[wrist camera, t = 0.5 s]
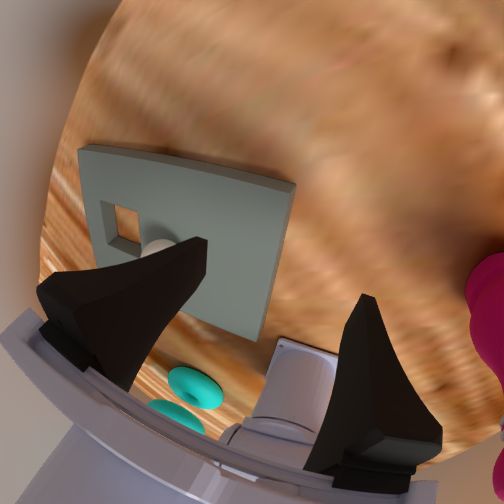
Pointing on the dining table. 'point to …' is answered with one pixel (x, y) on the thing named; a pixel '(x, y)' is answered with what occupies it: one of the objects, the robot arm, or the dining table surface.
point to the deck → (193, 225)
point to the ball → (156, 246)
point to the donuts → (189, 396)
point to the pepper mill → (489, 330)
